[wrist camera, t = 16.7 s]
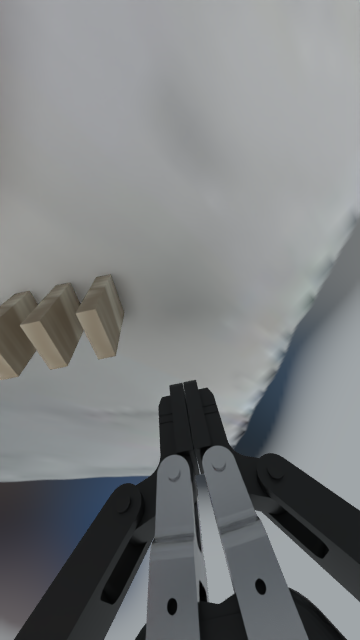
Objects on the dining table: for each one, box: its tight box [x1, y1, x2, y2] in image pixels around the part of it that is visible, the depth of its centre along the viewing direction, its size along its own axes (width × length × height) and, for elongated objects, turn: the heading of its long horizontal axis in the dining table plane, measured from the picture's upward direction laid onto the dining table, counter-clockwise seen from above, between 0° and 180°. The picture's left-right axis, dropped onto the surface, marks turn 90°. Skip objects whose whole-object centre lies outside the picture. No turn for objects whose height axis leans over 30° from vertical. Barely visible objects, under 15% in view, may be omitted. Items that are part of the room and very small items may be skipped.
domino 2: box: [20, 283, 84, 370], centre depth 22 cm, size 2×5×8 cm, turn 9°
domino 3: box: [76, 274, 124, 359], centre depth 22 cm, size 2×5×8 cm, turn 9°
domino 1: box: [0, 291, 38, 380], centre depth 22 cm, size 2×5×8 cm, turn 10°
